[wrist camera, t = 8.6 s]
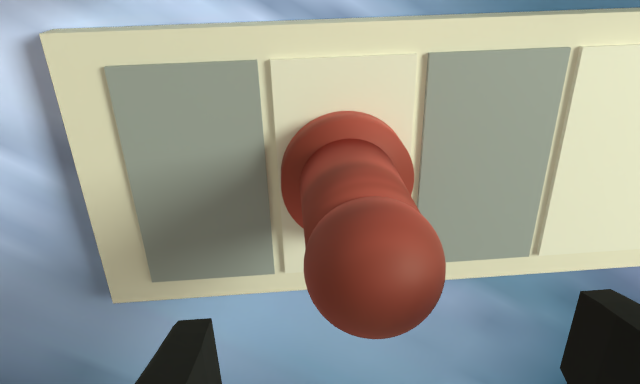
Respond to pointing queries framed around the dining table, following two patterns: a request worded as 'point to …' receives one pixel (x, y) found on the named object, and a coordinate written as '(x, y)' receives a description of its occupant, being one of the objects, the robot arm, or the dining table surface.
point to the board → (362, 96)
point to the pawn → (361, 226)
